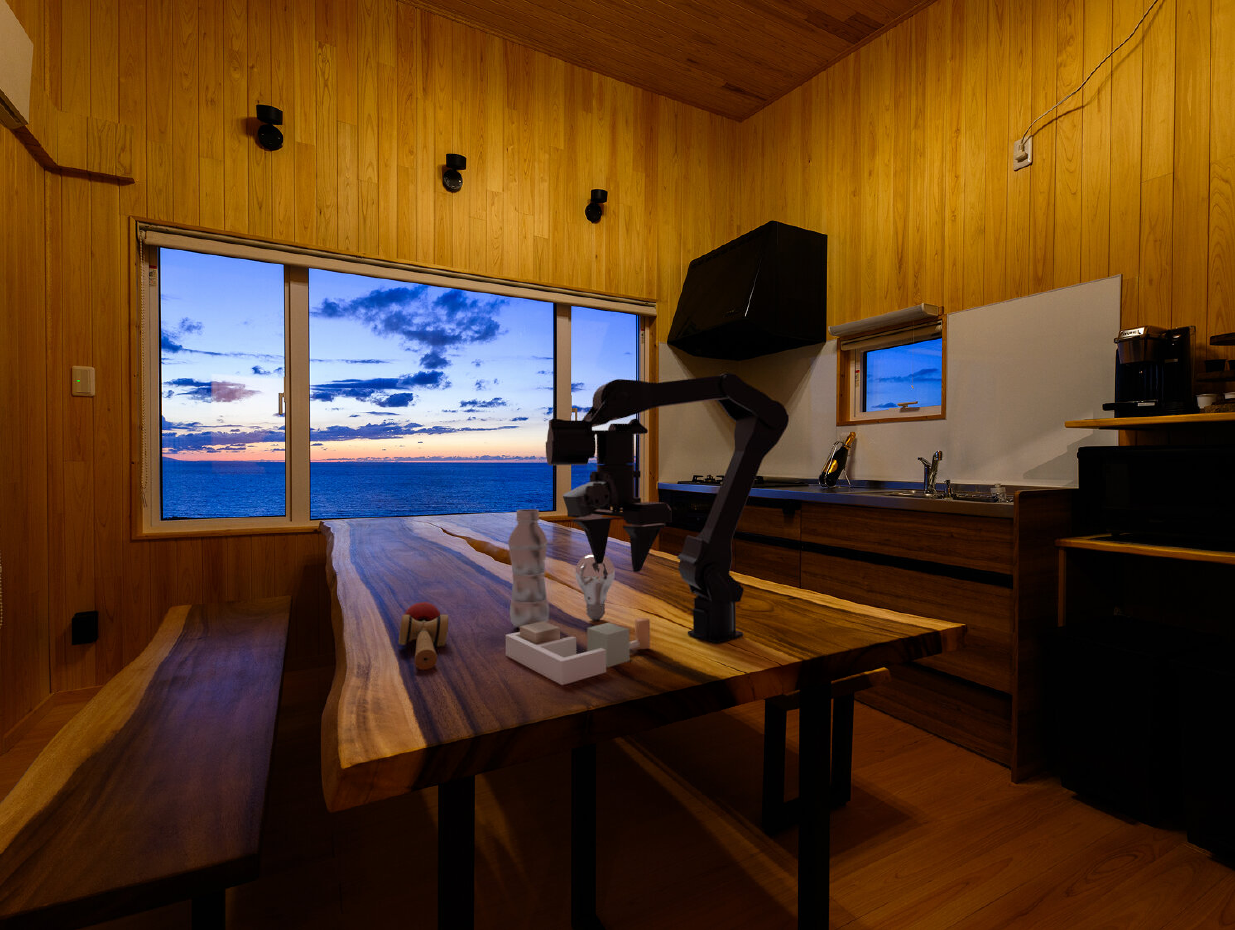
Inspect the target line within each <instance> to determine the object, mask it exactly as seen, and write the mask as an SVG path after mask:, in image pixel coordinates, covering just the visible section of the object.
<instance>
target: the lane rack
mask: <svg viewBox="0 0 1235 930" xmlns="http://www.w3.org/2000/svg"><path fill="white" fill-rule="evenodd" d="M505 656H506V657H508V658H510V659H512V660H513V661H515V662H518V663H519V664H521V665H523V666H524V667H527V668H528V669H531V670H532V671H534V672H536V673H538V674H540V675H542V676H544V677H546V678H547V679H549V680H551V681H553V682H555V683H558V684H559V685H561V686H564V685H567V684H571V683H575V682H578V681H580V680H584V679H585V680H586V679H588V678H591V677H594V676H598V675H601V674H605V673H607V667H606V650H605V649H603V648H599V649H595V650H592V651H588V650H587V651H585V652H581V653H577V637H574V636H567V637H564V638H560V639H559V640H554V641H550V642H546V643H542V644H537V645H535V644H533V643H531V642H529V641H527V640H524V639H522V638H520V631H518V632H513V633H508V634H505Z"/></svg>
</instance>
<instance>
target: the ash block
mask: <svg viewBox="0 0 1235 930" xmlns="http://www.w3.org/2000/svg"><path fill="white" fill-rule="evenodd" d="M519 632H520V638H522V639H524V640H527V641H529V642H531V643H533V644H535V645H537V644H542V643H546V642H550V641H554V640H559V639H561V627H560V626H557V625H554V624H551V623H549V622H548V621H547V622H544V621H542V622H537V623H533V624H528V625H523V626H520V628H519Z"/></svg>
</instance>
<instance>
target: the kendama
mask: <svg viewBox="0 0 1235 930" xmlns="http://www.w3.org/2000/svg"><path fill="white" fill-rule="evenodd" d="M448 631H449V615H448V614H441V612H440V609H438V608H437V607H436V606H435V605H434V604H433V603H429V602H422V601H421V602H417V603H414V604H412V605H411V606H410V607H409V608H407V609H406V611H405V612H404V614H402V616H401V621H400V627H399V636H398V645H403V646H404V645H407V644H408V643H409V642H411V641H416V644H415V654H414V655H415V656H414V664H415V666H416V668H417V669H418V670H421V671H423V670H425V671H426V670H430V669H432V668H434V666H435V665H436V664H437V662H438V656H437V652H436V649H435V646H436V647H437V648H438V647H444V646H445V645H446V643H447V638H448ZM434 645H435V646H434Z"/></svg>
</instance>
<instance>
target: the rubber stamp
mask: <svg viewBox="0 0 1235 930" xmlns="http://www.w3.org/2000/svg"><path fill="white" fill-rule="evenodd" d="M650 620H651V619H650V618H646V617H637V618H635V619H634V640H631V641H630V629H629V628H626V627H624V626H620V625H617V624H614V623H611V622H607V623H602V624H598V625H593V626H591V627H587V628H586V631H587V632H586V635H587V639H586V642H587V645H586V647H587V648H586V649H587V652H588V651H592V650H595V649H599V648H603V649H605V650H606V668H610V667H614V666H617V665H619V664H623V663H627V662H630V660H631V659H630V650H632V649H637V650H647V649H650V647H651V632H650V631H651V623H650V622H651V621H650Z"/></svg>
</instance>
